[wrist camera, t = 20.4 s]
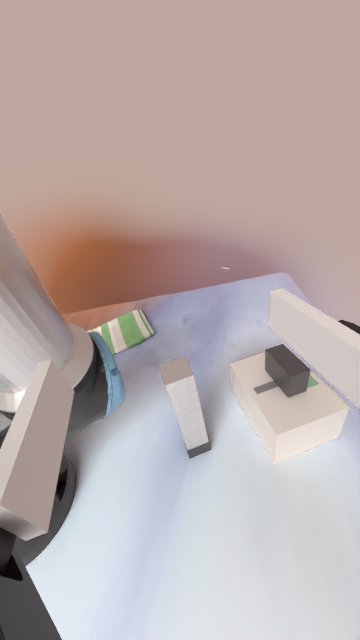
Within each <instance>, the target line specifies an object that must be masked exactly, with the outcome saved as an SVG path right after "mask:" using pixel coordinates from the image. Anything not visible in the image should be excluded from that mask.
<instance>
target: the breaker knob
mask: <svg viewBox="0 0 360 640" xmlns="http://www.w3.org/2000/svg"><path fill="white" fill-rule="evenodd" d="M265 370H266V372H267V373H268V374H269V375H270V377H271V378H272V379H273V380H274V381H275V383H276V384H277V385H278V386H279V387H280V389H281V390H282V391H283V392H284V393H285V395H286V396H287V397H288V398H289V397H292V396H295V395H297V394H300V393H303V392H305V391H307V386H308V381H309V376H310V371H311V370H310V369H309V368H308V367H307V366H306V365H305V364H304V363H303V362H301V361H300V360H299V359H298V358H297V357H296V356H295V355H294V354H293V353H292V352H291V351H290V350H289V349H287V348H286V347H285V346H284V345H283V344H281V345H278V346H275V347H272V348H269V349H267V350H265Z"/></svg>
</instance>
